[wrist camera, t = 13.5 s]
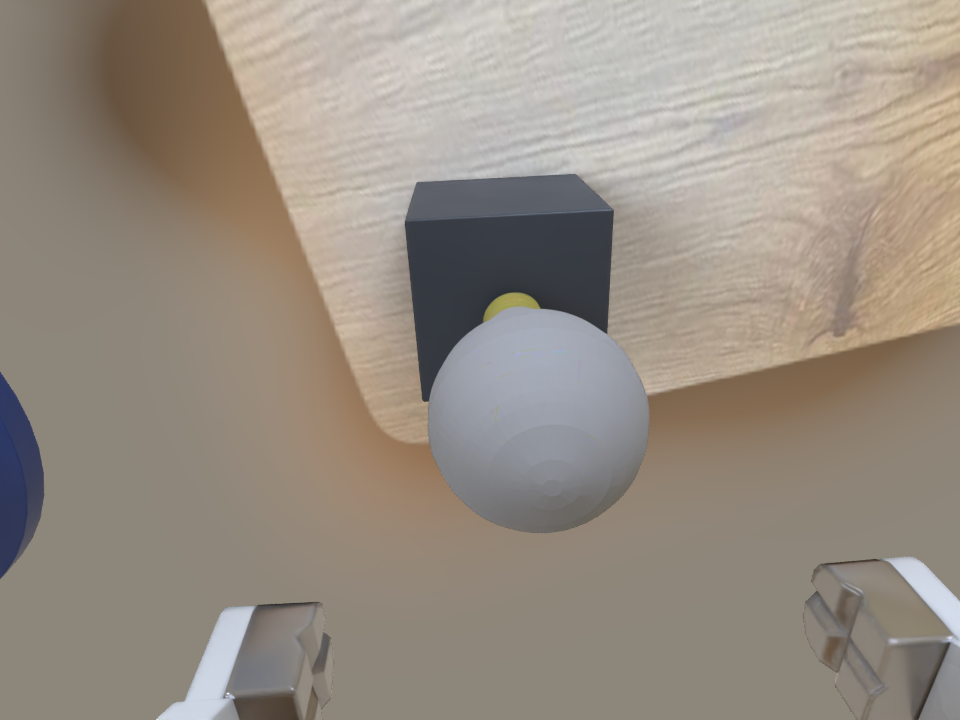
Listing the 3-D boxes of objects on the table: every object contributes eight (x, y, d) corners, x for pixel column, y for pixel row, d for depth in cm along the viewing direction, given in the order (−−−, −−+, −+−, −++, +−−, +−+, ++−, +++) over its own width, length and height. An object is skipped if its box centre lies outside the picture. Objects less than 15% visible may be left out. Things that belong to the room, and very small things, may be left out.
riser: (428, 330, 30) (422, 402, 23) (415, 182, 27) (404, 220, 20) (572, 321, 30) (604, 392, 24) (576, 173, 27) (614, 208, 20)
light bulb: (618, 289, 22) (735, 452, 13) (530, 403, 24) (578, 614, 15) (489, 206, 20) (519, 324, 11) (407, 335, 22) (376, 523, 13)
